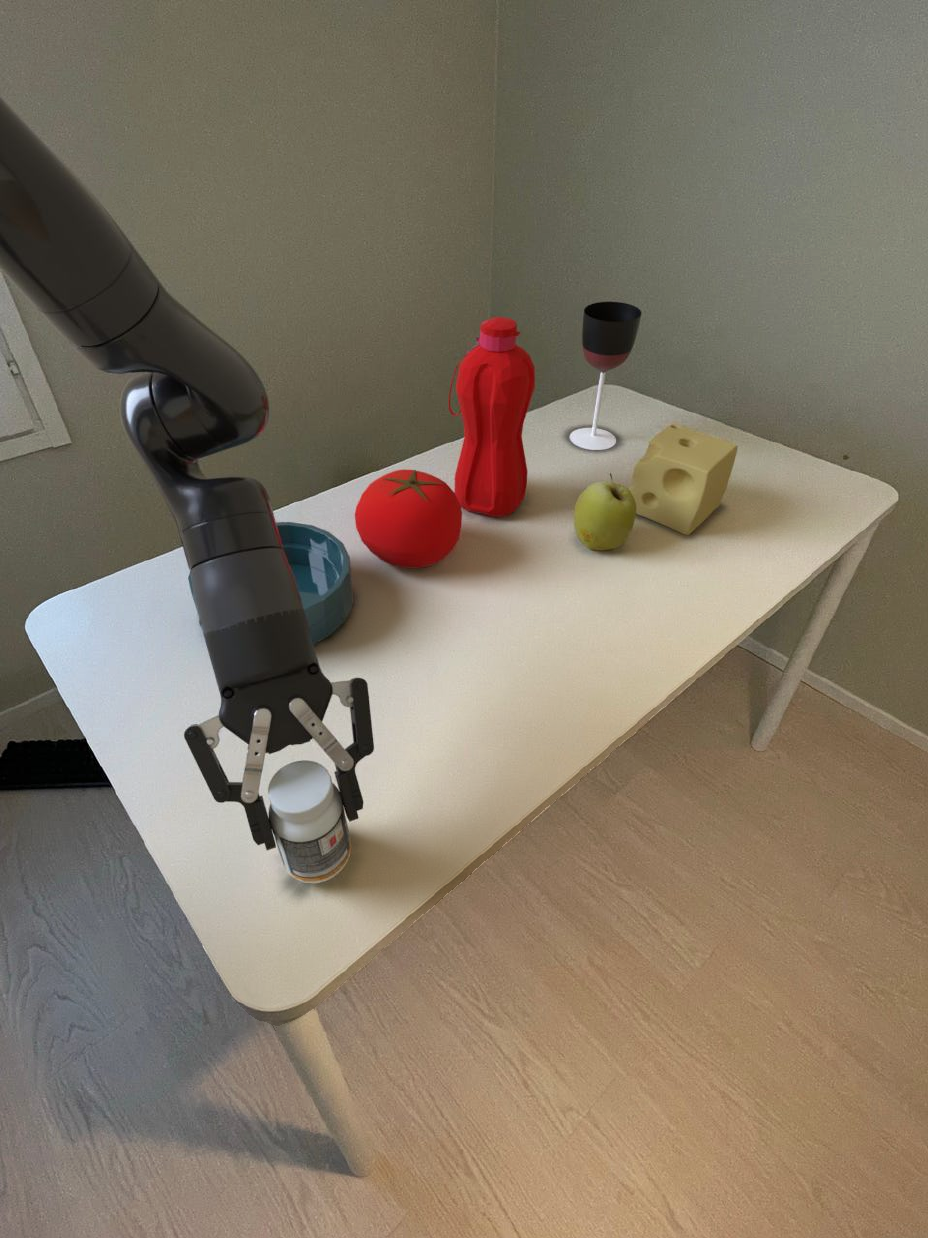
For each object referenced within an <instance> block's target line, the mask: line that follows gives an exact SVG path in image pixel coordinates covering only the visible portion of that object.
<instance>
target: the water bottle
mask: <svg viewBox="0 0 928 1238" xmlns="http://www.w3.org/2000/svg"><path fill="white" fill-rule="evenodd" d="M479 331H480V332H479V335H477V336H476V341H475V343H476V344H475V345H474V346H472V347H470V348H469V349H468V350H467V351H466V352H465V354H464V355H463V357H462V358H461V359H460V360H459V361H458V363H457V364H456V366H455V368H454V371H453V375H452V379H451V383H450V386H449V387H450V388H449V392H448V410H449V413H450V414H451V416H453V417H457V416H459V415H460V414H461V417H462V422H463V442H462V446H461V450H460V454H459V458H458V462H457V466H456V469H455V473H454V493H455V495H456V497H457V499H458V501H459V503H460V506H461V509H463V510H465V511H468V512H471V513H476V514H477V513H478V514H482V515H485V516H487V517H489V516H490V517H493V518H500V517H504V516H505V517H506V516H509V515H511V514H512V513H514V512H515V511H516V510H518V509H519V507H520V504H521V503H522V501H523V500H524V497H525V495H526V491H527V484H528V465H527V460H526V453H525V447H524V441H523V429H524V422H525V420H526V416H527V413H528V410H529V407H530V404H531V400H532V398H533V395H534V391H535V388H536V387H535V386H536V370H535V369H536V368H535V364H534V363H533V360H532V357H531V356H530V354H529V353H528V352H527V351H526V350H525V349H524V348H522V347H521V346H519V345H518V344H516V343H517V342H516V341H517V337H519V336H520V334H521V331H518V323H517V322H516V320H515V319H512V318H509V317H504V316H497V317H496V316H495V317H492V318H489V319H486V320H484V321H483V322H482V323H480V329H479ZM459 364H460V365H459ZM458 367H459V369H458ZM457 369H458V374H457V379H456V384H455V390H456V395H457V399H458V403H459V407H460V409H459V412H458V413H457V414H456V413H454V412H453V410H452V408H451V393H452V389H453V383H454V380H455V375H456V372H457Z"/></svg>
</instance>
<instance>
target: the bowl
mask: <svg viewBox="0 0 928 1238" xmlns="http://www.w3.org/2000/svg"><path fill="white" fill-rule="evenodd" d="M276 524H277V528H278V532H279V535H280V539H281V542H282V546H283V550H284V552H285V555H286V558H287V560H288V563H289V565H290V567H291V569H292V572H293V574H294V577H295V580H296V583H297V587H298V591H299V594H300V597H301V602H302V605H303V609H304V612H305V616H306V619H307V623H308V627H309V630H310V634H311V637H312V641H313V645H315V644H317V643H318V642H320V641H323V640H324V639H326V638H328V637H329V636H330V635H332V634H333V633H334V632H336V630H337V629H338V628H339V627H341V625H342V624H343V623H345V622H346V620H347V618H348V616H349V614H350V613H351V610H352V609H353V606H354V583H353V576H352V566H351V558H350V557H351V556H350V553H349V552H348V550H347V548H346V547H345V544H344V543H343V542H342V541H341V540H340V539H338V538H337V537H336V536H335V535H334V534H333V533H331V532H330V531H328V530H325V529H323V528H320V527H318V526H314V525H312V524H307V523H299V522H294V521H293V522H292V521H281V522H280V521H276ZM187 580H188V585H189V589H190V593H191V597H192V599H193V602H194V606H195V607H196V605H195V601H194V595H193V588H192V580H191V575H190V572H189V574H188V578H187Z"/></svg>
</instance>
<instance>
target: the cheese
mask: <svg viewBox="0 0 928 1238" xmlns="http://www.w3.org/2000/svg"><path fill="white" fill-rule="evenodd" d="M738 447H739V445H738V444H737V443H735V442H732V441H730V440H726V439H723V438H720V437H717V436H713V435H710V434H707V433H704V432H700V431H697V430H695V429H692V428H690V427H687V426H684V425H681V424H678V423H676V422H672V423H670V424H669V425H668V426H666V427H665V428H663V429H662V430H661V431H659V432H658V433H657V434H656V435H654V436H653V437H652V438H651V439H650V440H649V441H648V445H647V449H646V451H645V454H644V455H643V456H642V457H641V458H640V459H639V460H638V461H637V462H636V463H635V464H634V468H633V471H632V477H631V478H632V479H633V483H632V484H631V486H630V487H629V488H627V489H628V490H629V491H630V492H631V493H632V495H633V497H634V500H635V503H636V515H638V516H641V517H644V518H646V519H648V520H651V521H654V522H656V523H658V524H661V525H663V526H665V527H667V528H670V529H672V530H673V531H676V532H678V533H681V534H683V535H686V536H689V535H690V534H692V532H693V531H695V530H696V529H697V528H698V527H699V526H700V525H701V524H703V522H704V521H705V520H706V519H707V518H708V517H709V516H710V515H711V514H712V513H713V512H714V511H715V510H716V509H717V508H719V507H720V505H721V503H722V500H723V498H724V495H725V493H726V490H727V487H728V484H729V481H730V477H731V474H732V471H733V468H734V465H735V461H736V457H737V453H738Z"/></svg>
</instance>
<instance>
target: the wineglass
mask: <svg viewBox="0 0 928 1238" xmlns="http://www.w3.org/2000/svg"><path fill="white" fill-rule="evenodd" d="M641 319H642V311H641V309H640V308H638V306H635V305H633V304H630V303H626V302H620V301H598V302H594V303H591V304H588V305H587V306H585V307H584V309H583V317H582V330H581V331H582V332H581V342H582V343H581V344H582V345H581V346H582V352H583V356H584V358H585V360H586V363H588V364H589V365H590V366H591V367H593V368H594V369H596V370H598V371H600V375H599V379H598V380H599V381H598V387H597V392H596V393H597V394H596V400H595V406H594V407H595V408H594V414H593V421H592V427H582V428H577V429H575V430H573V431H572V432H571V433H570V435H569V440H570V442H571V443H573V445H575V446H577V447H579V448H581V449H585V450H589V451H590V450H591V451H603V450H608V449H610V448H612V447H614V446H615V445H616V444H617V439H616V436H615V435H614V434H612V433H611V432H609V431H607V430H605V429H601V428H598V424H599V419H600V410H601V405H602V398H603V392H604V387H605V381H606V374H607V372H608V371H611V370H613V369H616V368H618V367H619V366H621V365H622V364H623V363H625V362H626V361H627V359H628V358H629V356H630V354H631V353H632V350H633V349H634V345H635V341H636V338H637V335H638V331H639V327H640V322H641Z"/></svg>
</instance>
